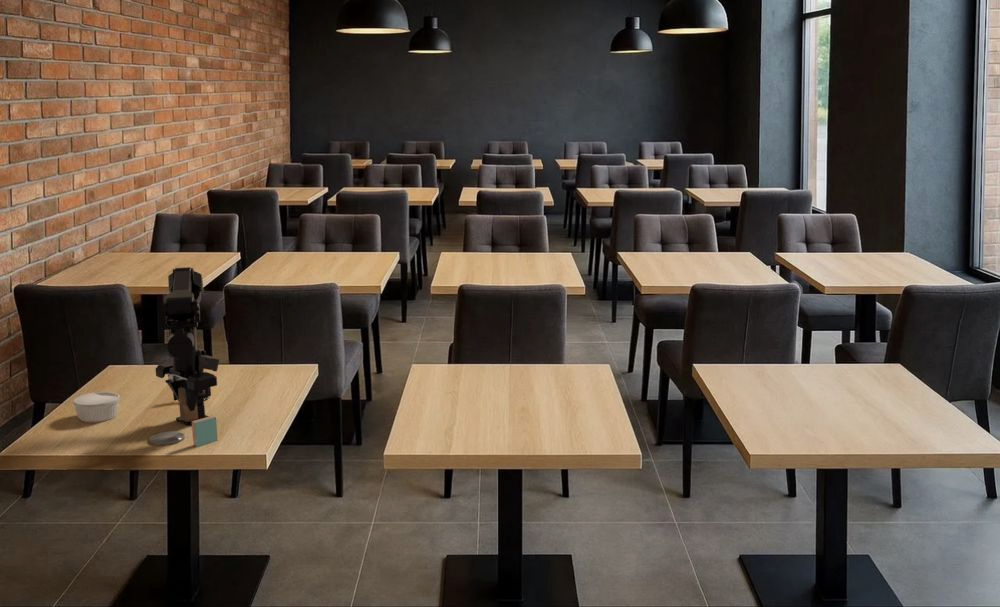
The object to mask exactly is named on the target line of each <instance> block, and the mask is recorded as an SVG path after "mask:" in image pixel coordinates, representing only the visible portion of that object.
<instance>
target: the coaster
mask: <svg viewBox="0 0 1000 607" xmlns="http://www.w3.org/2000/svg"><path fill="white" fill-rule="evenodd" d="M184 439H185V433H183V432H181V431H164V432H163V431H162V432H159V433H156V434H154V435H151V436H150V437H149V442H150V444H152V445H154V444H156V446H169V445H174V443H175V444H178V443H180V442H182V441H184Z"/></svg>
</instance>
